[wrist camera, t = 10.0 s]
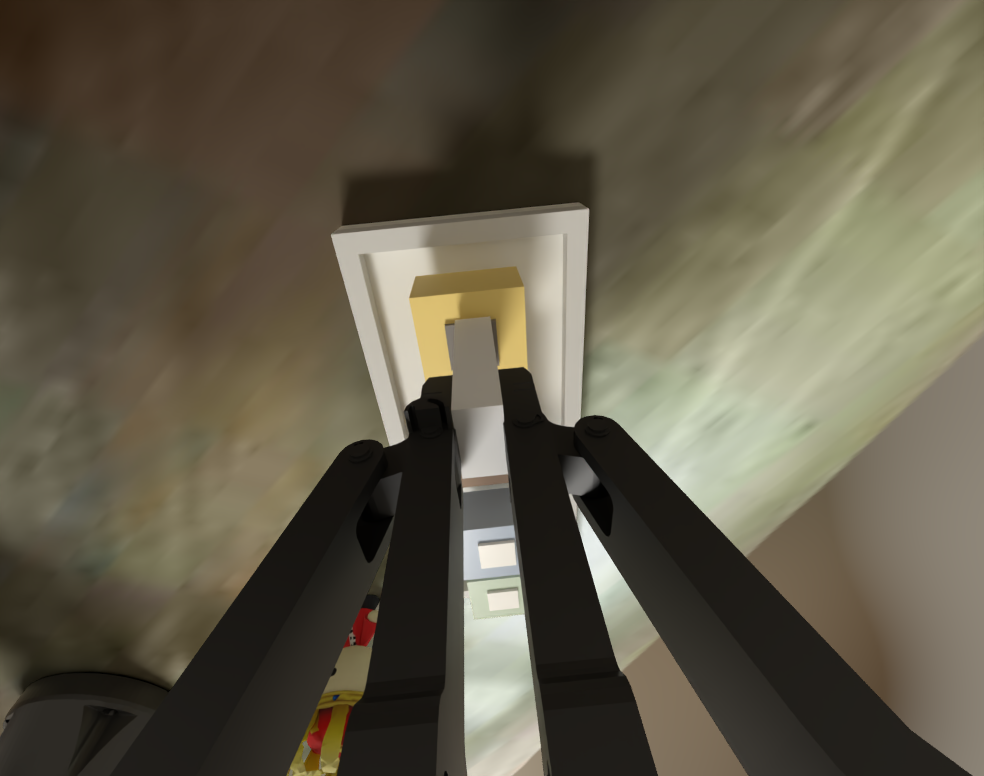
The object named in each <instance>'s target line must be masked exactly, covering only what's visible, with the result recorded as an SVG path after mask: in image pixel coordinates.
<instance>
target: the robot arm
mask: <svg viewBox="0 0 984 776" xmlns="http://www.w3.org/2000/svg"><path fill="white" fill-rule="evenodd" d="M404 415H405V419H406V423H407V428H408V432H409V436H408V438H407V439H405V440H404V441H402V442H400V443H397V444H395V445H392V446H389V447H386V448H383V445H382V444H381V443H379V442H378V441H375V440H361V441H357V442H354V443H352V444H350V445H348V446H347V447H345V448H344V449H343V450H342V451H341V452H340V453H339V455H338V456H337V457H336V459H335V460H334V462H333V463H332V464H331V466H330V467H329V469H328V470H327V471H326V473H325V474H324V476H323V477H322V478H321V480H320V481H319V483H318V484H317V485H316V487H315V488H314V490H313V491H312V492H311V494H310V495H309V497H308V498H307V499H306V501H305V502H304V504H303V505H302V506H301V508H300V509H299V511H298V512H297V513H296V515H295V516H294V518H293V519H292V520H291V522H290V523H289V525H288V526H287V527H286V529H285V530H284V532H283V533H282V534H281V536H280V537H279V539H278V540H277V541H276V543H275V544H274V546H273V547H272V548H271V550H270V551H269V553H268V554H267V555H266V557H265V558H264V560H263V561H262V562H261V564H260V565H259V567H258V568H257V570H256V571H255V572H254V574H253V575H252V577H251V578H250V579H249V581H248V582H247V584H246V585H245V586H244V588H243V589H242V591H241V592H240V593H239V595H238V596H237V598H236V599H235V600H234V602H233V603H232V605H231V606H230V607H229V609H228V610H227V612H226V613H225V614H224V616H223V617H222V619H221V620H220V621H219V623H218V624H217V626H216V627H215V628H214V630H213V631H212V633H211V634H210V635H209V637H208V638H207V640H206V641H205V642H204V644H203V645H202V647H201V648H200V649H199V651H198V652H197V654H196V655H195V656H194V658H193V659H192V661H191V662H190V663H189V665H188V666H187V668H186V669H185V670H184V672H183V673H182V675H181V676H180V677H179V679H178V680H177V682H176V683H175V685H174V686H173V687H172V689H171V690H170V692H167V691H166V690H164V689H161V688H159V687H157V686H154V685H152V684H149V683H146V682H142V681H139V680H135V679H131V678H126V677H121V676H115V675H107V674H96V673H71V674H61V675H55V676H50V677H46V678H43V679H40V680H38V681H36V682H34V683H32V684H31V685H29V686H28V687H27V688H26V690H25V691H24V692H23V694H22V695H21V696H20V697H19V699H18V700H17V701H16V703H15V704H14V705H13V707H12V708H11V709H10V711H9V712H8V714H7V716H6V718H5V721H4V723H3V729H4V731H3V733H2V734H1V736H0V776H286V775H287V773H288V771H289V768H290V766H291V764H292V762H293V759H294V757H295V755H296V753H297V750H298V748H299V746H300V744H301V741H302V739H303V737H304V735H305V732H306V730H307V728H308V726H309V723H310V721H311V719H312V717H313V714H314V712H315V710H316V708H317V706H318V703H319V701H320V699H321V697H322V694H323V692H324V690H325V688H326V685H327V683H328V681H329V679H330V676H331V674H332V672H333V670H334V667H335V665H336V663H337V661H338V658H339V656H340V654H341V652H342V649H343V647H344V645H345V643H346V640H347V638H348V636H349V634H350V631H351V629H352V627H353V625H354V622H355V620H356V618H357V616H358V614H359V611H360V609H361V607H362V605H363V602H364V600H365V598H366V596H367V593H368V591H369V589H370V587H371V584H372V582H373V580H374V578H375V575H376V573H377V571H378V569H379V566H380V564H381V562H382V560H383V557H384V555H385V553H386V551H387V548H388V546H389V544H390V547H389V553H388V559H387V564H386V570H385V576H384V582H383V588H382V594H381V599H380V605H379V611H378V617H377V623H376V629H375V634H374V640H373V646H372V652H371V658H370V663H369V669H368V675H367V681H366V686H365V690H364V693H363V696H362V698H361V699H360V700H359V701H358V702H357V703H356V704H354V706H353V708H352V711H351V713H350V715H349V719H348V723H347V727H346V731H345V735H344V741H343V746H342V751H341V756H340V761H339V766H338V772H337V776H467V769H466V759H465V743H464V539H463V486H462V480H461V473H462V479H465V478H475V477H485V476H494V475H504V474H508V481H509V493H510V503H511V507H512V515H513V523H514V531H515V539H516V547H517V555H518V563H519V571H520V580H521V588H522V596H523V604H524V612H525V620H526V628H527V636H528V644H529V652H530V660H531V668H532V677H533V685H534V693H535V701H536V709H537V717H538V725H539V733H540V742H541V752H542V760H543V761H542V762H543V771H544V776H658V774H657V771H656V767H655V764H654V761H653V757H652V754H651V751H650V747H649V744H648V741H647V737H646V734H645V731H644V727H643V724H642V720H641V717H640V714H639V711H638V707H637V704H636V700H635V697H634V694H633V692H632V689H631V686H630V684H629V682H628V679H627V677H626V676H625V675H624V674H623V673H622V672H621V671H620V669H619V667H618V665H617V662H616V659H615V656H614V652H613V649H612V645H611V642H610V638H609V635H608V631H607V627H606V624H605V620H604V617H603V613H602V610H601V606H600V603H599V599H598V596H597V592H596V589H595V585H594V582H593V578H592V575H591V571H590V567H589V564H588V560H587V557H586V553H585V550H584V546H583V543H582V539H581V536H580V532H579V529H578V525H577V522H576V518H575V515H574V511H573V508H572V504H571V500H570V497H569V494H572V496H573V498H574V501H575V502H576V504H577V505H578V507H579V508H580V510H581V512H582V513H583V515H584V516H585V518H586V520H587V521H588V523H589V524H590V526H591V527H592V529H593V531H594V532H595V534H596V535H597V537H598V539H599V540H600V542H601V543H602V545H603V546H604V548H605V550H606V551H607V553H608V554H609V556H610V557H611V559H612V561H613V562H614V564H615V565H616V567H617V569H618V570H619V572H620V573H621V575H622V576H623V578H624V580H625V581H626V583H627V584H628V586H629V588H630V589H631V591H632V592H633V594H634V595H635V597H636V599H637V600H638V602H639V603H640V605H641V607H642V608H643V610H644V611H645V613H646V614H647V616H648V618H649V619H650V621H651V622H652V624H653V626H654V627H655V629H656V630H657V632H658V633H659V635H660V637H661V638H662V640H663V641H664V643H665V644H666V646H667V648H668V649H669V651H670V652H671V654H672V656H673V657H674V659H675V660H676V662H677V663H678V665H679V666H680V668H681V670H682V671H683V673H684V674H685V676H686V678H687V679H688V681H689V682H690V684H691V686H692V687H693V689H694V690H695V692H696V694H697V695H698V697H699V698H700V700H701V701H702V703H703V704H704V706H705V708H706V709H707V711H708V712H709V714H710V716H711V717H712V719H713V720H714V722H715V724H716V725H717V726H718V728H719V730H720V731H721V733H722V734H723V736H724V738H725V739H726V741H727V743H728V744H729V745H730V747H731V749H732V750H733V752H734V754H735V755H736V757H737V758H738V760H739V762H740V763H741V764H742V766H743V768H744V769H745V771H746V773H747V774H748V775H749V776H972V775H971V774H969V773H968V772H967V771H965V770H964V769H962V768H961V767H959V766H958V765H957V764H956V763H954V762H953V761H952V760H950V759H949V758H948V757H946V756H945V755H944V754H942V753H941V752H940V751H938V750H937V749H936V748H934V747H933V746H931V745H930V744H929V743H927V742H926V741H925V740H923V739H922V738H921V737H919V736H918V735H917V734H915V733H914V732H913V731H911V730H910V729H909V728H908V727H907V726H906V725H905V724H904V723H903V722H902V721H901V719H900V718H899V717H898V716H897V715H896V714H895V713H894V712H893V711H892V710H891V709H890V708H889V707H888V706H887V705H886V704H885V703H884V702H883V701H882V700H881V699H880V697H879V696H878V695H877V694H876V693H875V692H874V691H873V690H872V689H871V688H870V687H869V686H868V685H867V684H866V683H865V682H864V681H863V680H862V679H861V678H860V677H859V675H857V673H856V672H854V670H853V669H852V668H851V667H850V666H849V665H848V664H847V663H846V662H845V661H844V660H843V659H842V658H841V657H840V656H839V655H838V653H837V652H836V651H835V650H834V649H833V648H832V647H831V646H830V645H829V644H828V643H827V642H826V641H825V640H824V639H823V638H822V637H821V636H820V635H819V634H818V633H817V631H816V630H815V629H814V628H813V627H812V626H811V625H810V624H809V623H808V622H807V621H806V620H805V619H804V618H803V617H802V616H801V615H800V614H799V613H798V612H797V611H796V609H795V608H794V607H793V606H792V605H791V604H790V603H789V602H788V601H787V600H786V599H785V598H784V597H783V596H782V595H781V594H780V593H779V592H778V591H777V590H776V589H775V588H774V586H773V585H772V584H771V583H769V581H768V580H767V579H766V578H765V577H764V576H763V575H762V574H761V573H760V572H759V571H758V570H757V569H756V568H755V567H754V566H753V565H752V563H751V562H750V561H749V560H748V559H747V558H746V557H745V556H744V555H743V554H742V553H741V552H740V551H739V550H738V549H737V548H736V547H735V546H734V545H733V543H732V542H731V541H730V540H729V539H728V538H727V537H726V536H725V535H724V534H723V533H722V532H721V531H720V530H719V529H718V528H717V527H716V526H715V525H714V524H713V523H712V522H711V520H710V519H709V518H708V517H707V516H706V515H705V514H704V513H703V512H702V511H701V510H700V509H699V508H698V507H697V506H696V505H695V504H694V503H693V502H692V501H691V500H690V498H689V497H688V496H687V495H686V494H685V493H684V492H683V491H682V490H681V489H680V488H679V487H678V486H677V485H676V484H675V483H674V482H673V481H672V480H671V479H670V478H669V476H668V475H667V474H666V473H665V472H664V471H663V470H662V469H661V468H660V467H659V466H658V465H657V464H656V463H655V462H654V461H653V460H652V459H651V458H650V457H649V456H648V454H647V453H646V452H645V451H644V450H643V449H642V448H641V447H640V446H639V445H638V444H637V443H636V442H635V441H634V440H633V439H632V438H631V437H630V436H629V435H628V434H627V432H626V431H625V430H624V429H623V428H622V427H621V426H620V425H619V424H618V423H617V422H615V421H614V420H612V419H610V418H607V417H604V416H597V415H593V416H586V417H584V418H581V419H579V420H578V421H577V422H576V423H575V426H574V427H568V426H561V425H557V424H554V423H552V422H550V421H548V419H547V418H546V416H545V415H544V414H543V413H542V411H541V407H540V404H539V400H538V396H537V393H536V390H535V385H534V382H533V378H532V374H531V373H530V372H529V371H528V370H527V369H526V368H524V367H518V368H508V369H498V367H497V360H496V353H495V346H494V339H493V332H492V325H491V318H490V316H489V317H479V318H469V319H459V320H455V330H454V353H453V375H448V376H438V377H429V378H428V379H427V380H426V382H425V383H424V384H423V385H422V391H421V397H420V398H419V399H417V400H414V401H412V402H411V403H410V404H408V405H407V406H406V408H405V410H404Z"/></svg>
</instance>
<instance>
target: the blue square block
mask: <svg viewBox="0 0 984 776" xmlns="http://www.w3.org/2000/svg"><path fill="white" fill-rule="evenodd" d="M463 539H464V580H473V579H482V578H491V577H500V576H509V575H519V574H520V571H519V563H518V555H517V547H516V539H515V531H514V523H513V515H512V507H511V503H510V493H509V488H500V489H490V490H481V491H471V492H463Z"/></svg>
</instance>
